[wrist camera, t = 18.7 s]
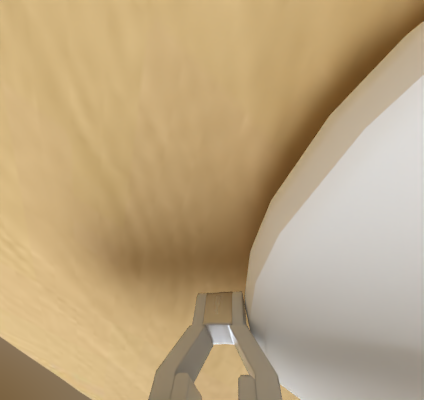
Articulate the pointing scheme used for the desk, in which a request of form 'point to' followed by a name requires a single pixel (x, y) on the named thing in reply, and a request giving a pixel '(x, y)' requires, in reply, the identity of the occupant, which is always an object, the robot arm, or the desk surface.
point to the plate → (350, 247)
